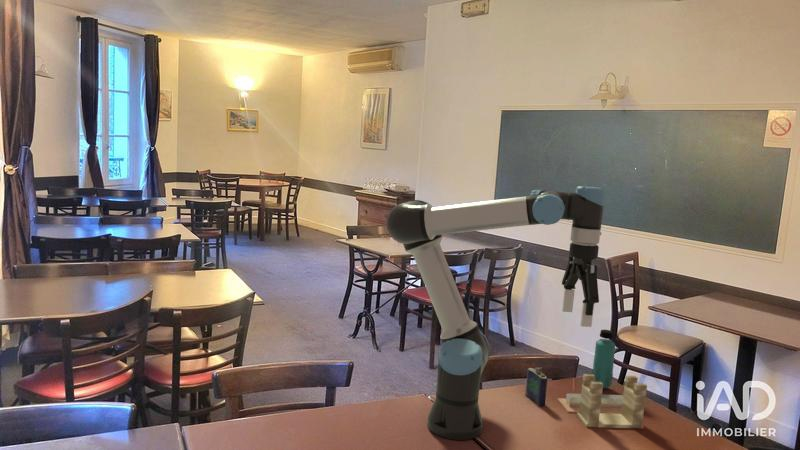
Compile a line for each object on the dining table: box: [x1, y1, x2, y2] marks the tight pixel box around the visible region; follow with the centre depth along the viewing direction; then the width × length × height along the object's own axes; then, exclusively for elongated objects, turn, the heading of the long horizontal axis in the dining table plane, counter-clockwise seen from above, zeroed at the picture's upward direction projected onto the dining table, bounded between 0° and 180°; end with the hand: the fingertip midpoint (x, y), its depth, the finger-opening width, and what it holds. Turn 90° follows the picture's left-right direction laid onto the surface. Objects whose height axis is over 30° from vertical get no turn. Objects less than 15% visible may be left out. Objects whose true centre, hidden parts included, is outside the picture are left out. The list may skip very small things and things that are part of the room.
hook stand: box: [576, 373, 648, 429], centre depth 168 cm, size 17×7×13 cm, turn 95°
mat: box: [557, 397, 621, 414], centre depth 179 cm, size 21×9×1 cm, turn 95°
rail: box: [565, 393, 623, 408], centre depth 179 cm, size 18×3×3 cm, turn 95°
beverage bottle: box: [591, 329, 616, 389], centre depth 193 cm, size 6×7×20 cm
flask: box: [524, 367, 548, 407], centre depth 180 cm, size 9×3×11 cm, turn 21°
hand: (576, 318), depth 160 cm, fingers open, 13 cm apart
